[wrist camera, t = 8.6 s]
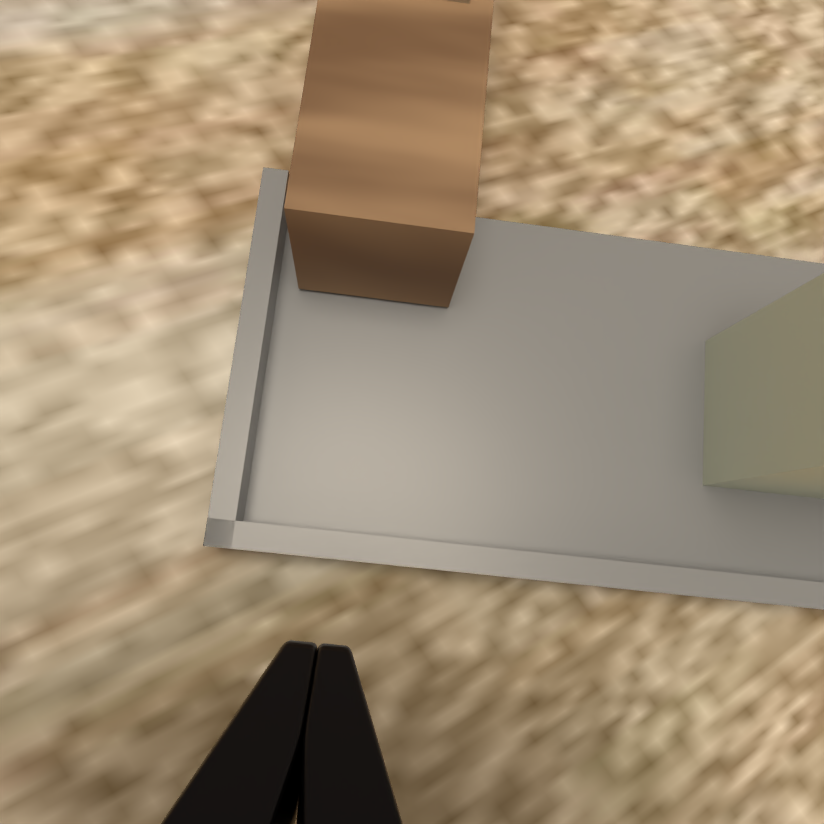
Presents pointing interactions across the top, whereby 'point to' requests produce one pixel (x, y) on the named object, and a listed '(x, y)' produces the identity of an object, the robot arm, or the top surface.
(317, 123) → the walnut box
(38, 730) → the top surface
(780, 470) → the sage box
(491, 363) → the parts tray
